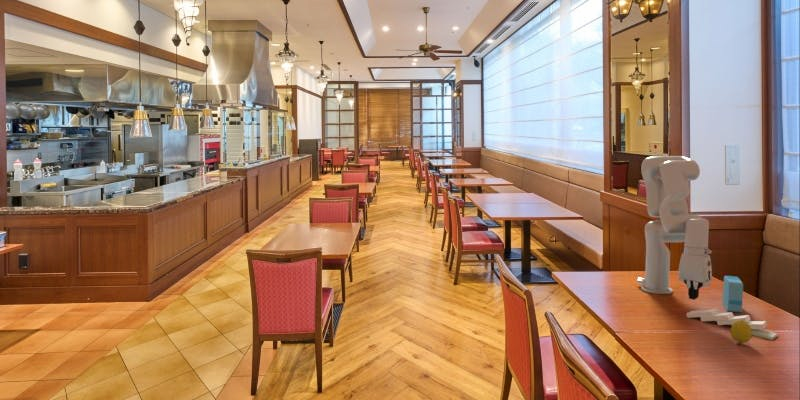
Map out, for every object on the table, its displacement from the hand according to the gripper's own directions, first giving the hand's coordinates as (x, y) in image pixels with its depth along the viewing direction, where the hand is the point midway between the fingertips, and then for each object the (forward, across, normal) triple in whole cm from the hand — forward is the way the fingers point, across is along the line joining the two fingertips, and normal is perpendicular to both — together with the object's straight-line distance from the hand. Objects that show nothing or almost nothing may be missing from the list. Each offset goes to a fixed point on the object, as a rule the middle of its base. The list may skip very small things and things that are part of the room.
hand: (693, 298), depth 183 cm
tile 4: (+6, -14, 0) cm, 15 cm away
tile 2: (+6, -4, 0) cm, 8 cm away
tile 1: (+6, +1, 0) cm, 6 cm away
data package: (+7, -4, -22) cm, 24 cm away
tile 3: (+6, -9, 0) cm, 11 cm away
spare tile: (+7, -17, 0) cm, 18 cm away
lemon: (+7, -22, +14) cm, 27 cm away
